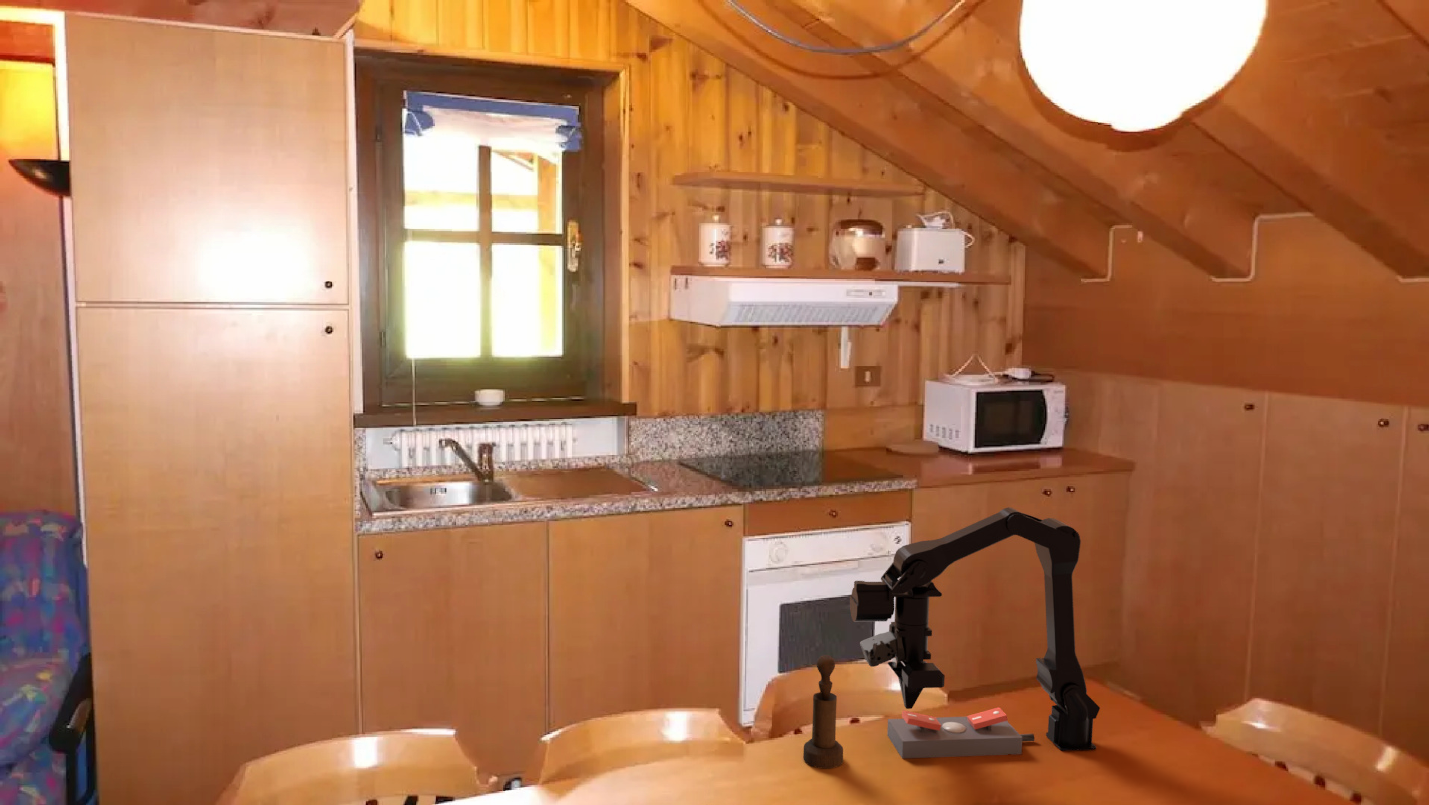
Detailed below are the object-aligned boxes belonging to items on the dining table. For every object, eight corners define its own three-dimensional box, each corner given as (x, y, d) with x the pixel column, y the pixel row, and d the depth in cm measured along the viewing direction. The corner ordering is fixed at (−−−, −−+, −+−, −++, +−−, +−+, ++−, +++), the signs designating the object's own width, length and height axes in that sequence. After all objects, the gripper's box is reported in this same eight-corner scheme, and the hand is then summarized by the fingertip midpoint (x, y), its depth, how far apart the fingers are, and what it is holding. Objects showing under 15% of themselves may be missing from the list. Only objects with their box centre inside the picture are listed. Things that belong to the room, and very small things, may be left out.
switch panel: (1022, 730, 183) (1023, 711, 183) (1043, 753, 175) (1044, 733, 174) (887, 735, 181) (888, 715, 180) (902, 758, 172) (902, 738, 171)
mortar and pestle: (842, 752, 174) (845, 650, 172) (843, 770, 167) (846, 664, 165) (803, 750, 174) (806, 648, 172) (802, 767, 168) (805, 662, 166)
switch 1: (933, 722, 178) (935, 716, 178) (939, 730, 175) (941, 725, 175) (901, 715, 178) (903, 709, 177) (907, 723, 174) (908, 717, 174)
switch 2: (1000, 712, 180) (998, 706, 179) (1007, 720, 176) (1006, 714, 176) (967, 721, 179) (966, 715, 179) (974, 729, 176) (973, 723, 176)
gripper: (852, 604, 182) (849, 688, 184) (880, 640, 164) (877, 733, 166) (912, 603, 184) (909, 686, 185) (947, 638, 165) (943, 730, 167)
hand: (908, 708), depth 176 cm, fingers closed
